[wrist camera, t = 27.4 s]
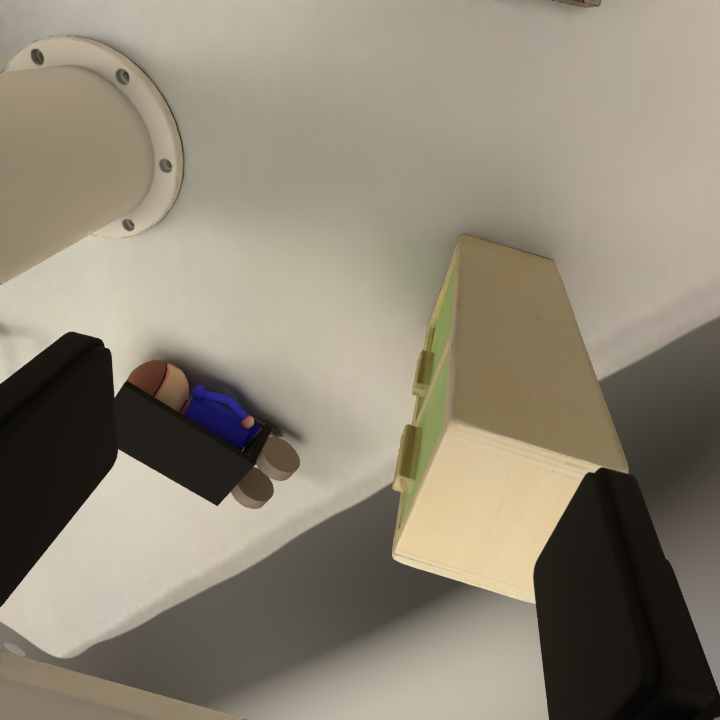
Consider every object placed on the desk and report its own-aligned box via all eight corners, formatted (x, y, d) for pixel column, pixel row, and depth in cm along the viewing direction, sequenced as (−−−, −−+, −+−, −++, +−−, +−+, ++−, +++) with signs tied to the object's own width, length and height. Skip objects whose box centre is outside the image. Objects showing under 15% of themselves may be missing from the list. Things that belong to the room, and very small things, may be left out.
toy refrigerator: (450, 225, 37) (432, 416, 19) (557, 257, 37) (639, 479, 19) (414, 327, 41) (373, 559, 23) (510, 356, 41) (542, 611, 23)
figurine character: (313, 420, 49) (157, 331, 45) (299, 486, 43) (116, 389, 38) (275, 462, 52) (126, 383, 48) (257, 528, 46) (84, 444, 42)
